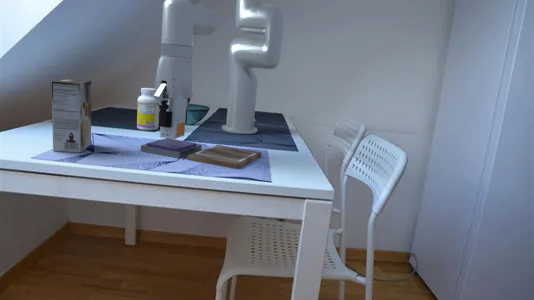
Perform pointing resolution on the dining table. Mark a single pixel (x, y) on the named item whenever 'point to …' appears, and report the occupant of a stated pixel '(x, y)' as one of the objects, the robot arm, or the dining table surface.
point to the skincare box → (176, 118)
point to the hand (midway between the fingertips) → (173, 124)
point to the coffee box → (71, 115)
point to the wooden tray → (225, 156)
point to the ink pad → (171, 148)
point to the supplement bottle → (147, 110)
